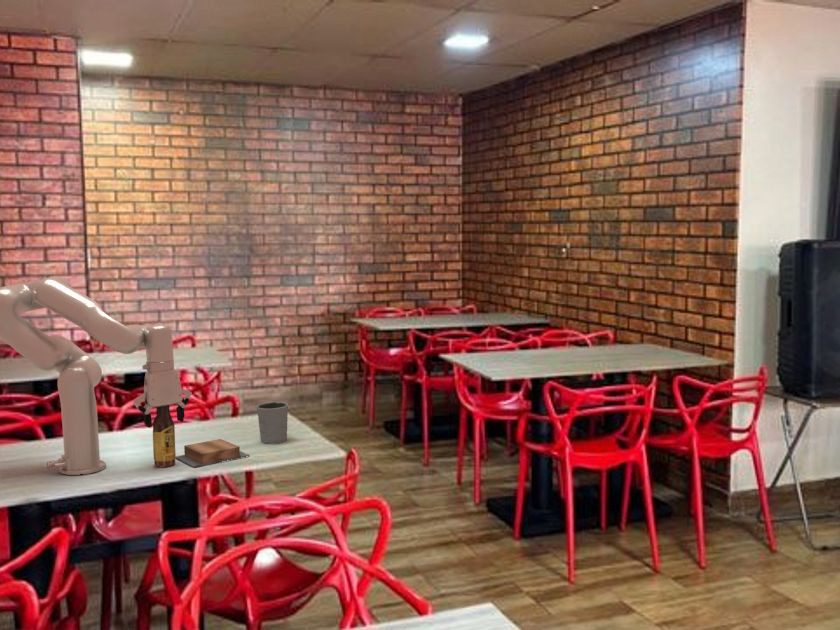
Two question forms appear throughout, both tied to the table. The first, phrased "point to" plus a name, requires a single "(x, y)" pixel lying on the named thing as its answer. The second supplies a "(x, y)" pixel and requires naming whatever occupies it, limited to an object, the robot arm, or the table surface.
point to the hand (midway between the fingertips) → (164, 423)
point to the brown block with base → (210, 453)
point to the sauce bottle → (163, 438)
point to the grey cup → (273, 422)
